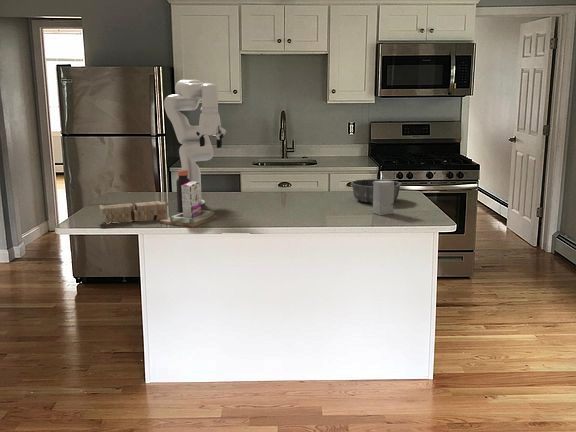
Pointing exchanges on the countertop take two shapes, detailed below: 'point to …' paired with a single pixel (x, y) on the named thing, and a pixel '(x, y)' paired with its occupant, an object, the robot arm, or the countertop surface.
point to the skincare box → (383, 197)
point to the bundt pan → (369, 189)
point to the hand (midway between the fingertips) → (210, 146)
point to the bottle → (179, 182)
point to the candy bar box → (191, 199)
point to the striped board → (190, 219)
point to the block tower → (134, 212)
